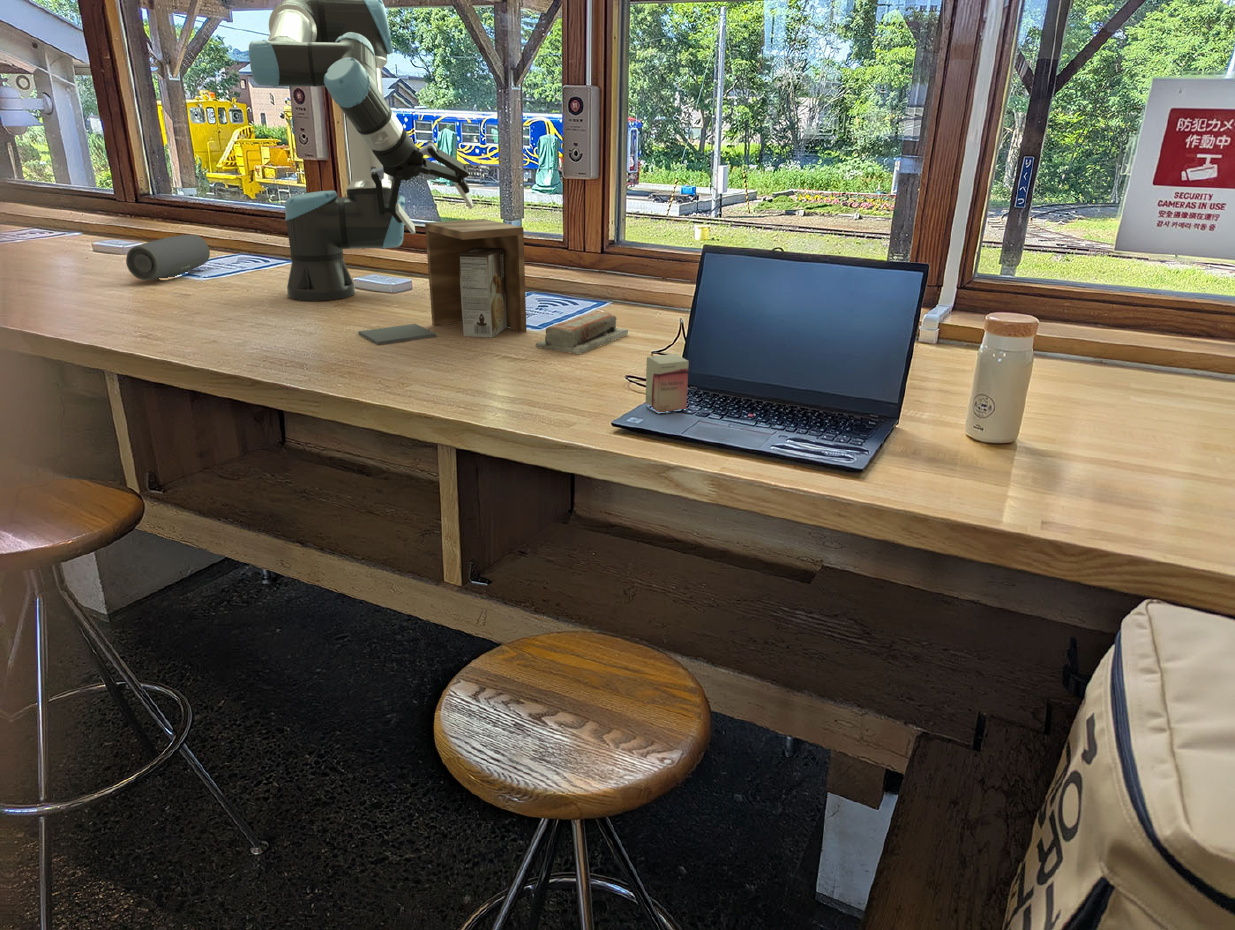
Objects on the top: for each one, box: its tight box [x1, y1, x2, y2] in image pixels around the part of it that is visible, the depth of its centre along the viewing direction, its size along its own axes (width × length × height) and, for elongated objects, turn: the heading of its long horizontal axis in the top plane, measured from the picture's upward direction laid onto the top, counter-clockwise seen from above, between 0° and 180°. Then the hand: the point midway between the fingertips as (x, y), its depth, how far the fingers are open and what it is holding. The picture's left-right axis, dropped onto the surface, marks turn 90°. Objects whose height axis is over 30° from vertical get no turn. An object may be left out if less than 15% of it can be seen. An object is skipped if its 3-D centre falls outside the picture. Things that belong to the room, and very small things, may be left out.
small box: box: [645, 353, 690, 412], centre depth 128 cm, size 5×4×8 cm
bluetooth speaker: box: [125, 234, 211, 281], centre depth 223 cm, size 23×9×10 cm, turn 172°
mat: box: [357, 323, 438, 346], centre depth 170 cm, size 10×12×1 cm
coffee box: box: [458, 247, 508, 339], centre depth 170 cm, size 9×6×16 cm
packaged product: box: [535, 311, 629, 355], centre depth 167 cm, size 18×5×10 cm
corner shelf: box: [424, 218, 527, 334], centre depth 172 cm, size 16×13×20 cm
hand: (442, 217), depth 182 cm, fingers open, 13 cm apart
